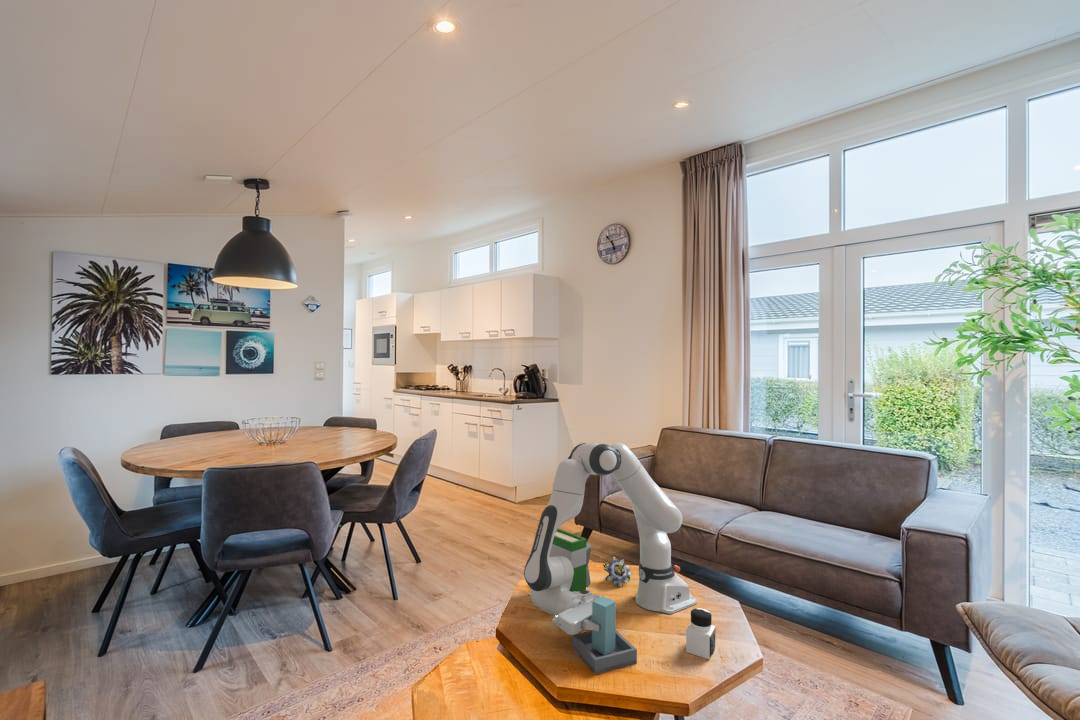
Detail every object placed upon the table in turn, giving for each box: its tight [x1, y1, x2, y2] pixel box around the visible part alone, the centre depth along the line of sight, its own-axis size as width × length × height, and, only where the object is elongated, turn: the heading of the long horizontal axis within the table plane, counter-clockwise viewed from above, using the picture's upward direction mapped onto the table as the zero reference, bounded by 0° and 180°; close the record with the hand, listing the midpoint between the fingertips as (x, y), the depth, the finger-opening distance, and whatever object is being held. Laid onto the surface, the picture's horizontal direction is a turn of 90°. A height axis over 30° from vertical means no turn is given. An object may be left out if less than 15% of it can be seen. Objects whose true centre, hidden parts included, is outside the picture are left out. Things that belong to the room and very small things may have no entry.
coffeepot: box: [586, 542, 592, 588], centre depth 198 cm, size 15×9×18 cm, turn 16°
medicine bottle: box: [685, 607, 716, 660], centre depth 150 cm, size 7×7×12 cm
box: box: [571, 630, 638, 675], centre depth 147 cm, size 14×14×4 cm
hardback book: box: [549, 527, 587, 592], centre depth 183 cm, size 18×7×24 cm, turn 41°
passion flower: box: [602, 555, 633, 588], centre depth 198 cm, size 11×11×12 cm
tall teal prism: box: [591, 595, 617, 655], centre depth 147 cm, size 5×5×14 cm
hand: (606, 624), depth 147 cm, fingers closed on tall teal prism, 5 cm apart
